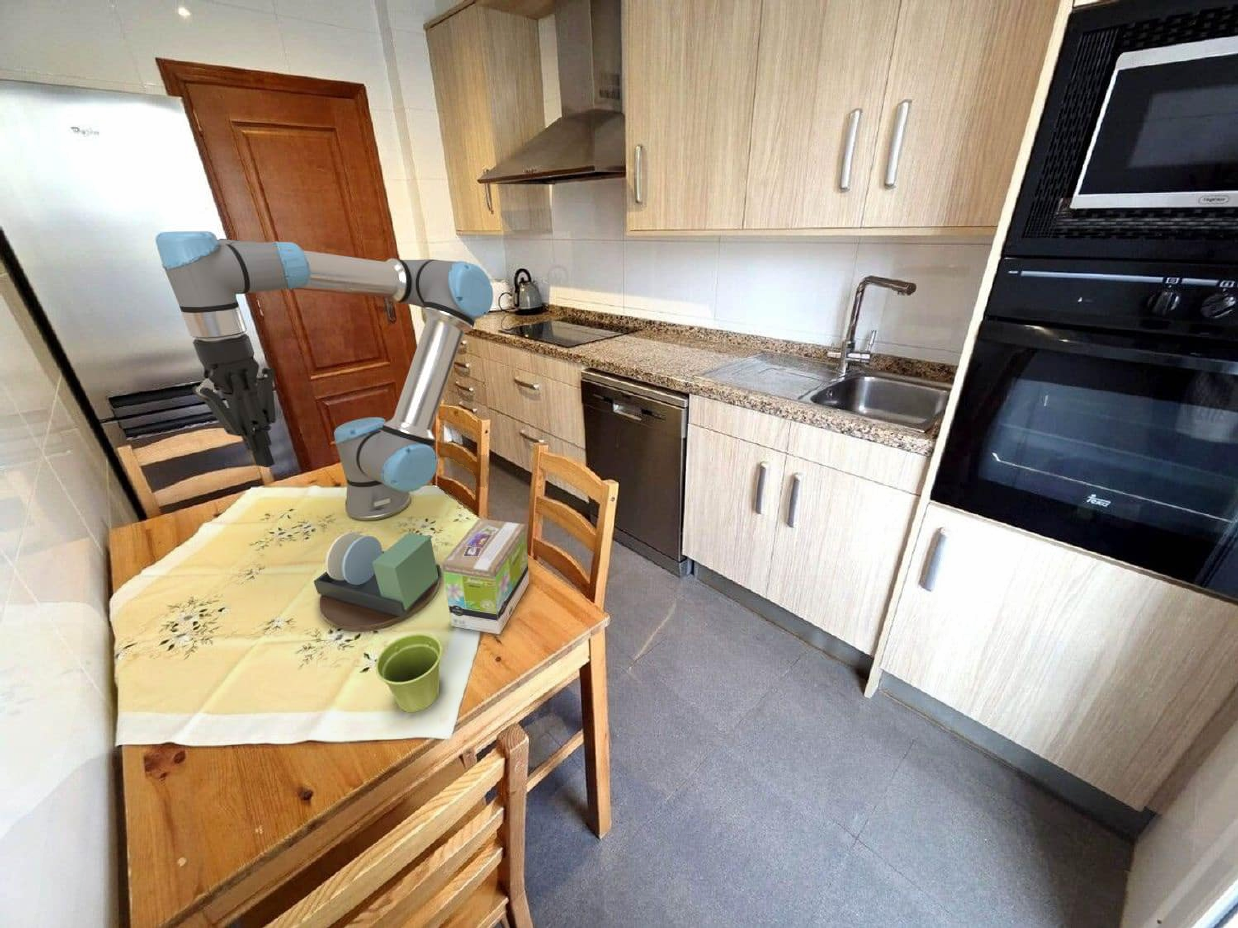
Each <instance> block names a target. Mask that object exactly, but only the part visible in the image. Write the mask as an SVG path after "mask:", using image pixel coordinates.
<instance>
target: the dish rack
mask: <svg viewBox="0 0 1238 928" xmlns="http://www.w3.org/2000/svg"><path fill="white" fill-rule="evenodd" d="M434 552H435V551H434V547H433V543H432V537H431V536H428V535H424V534H419V533H415V532H410V531H408V532H407V533H406V534H405V535H404V536H402V537H401V538H400V539H398V540H397V541H396V542H395V543H394V544H392V546H390V547H389V548H388V549H386V550H385V551H383V546H382V543H381V541H380V540H379V539H378V538H377V537H375V536H372V535H363V536H362V535H361V534H360V533H359V532H355V531H347V532H344V533H342V534H340V535H339V536H338V537H336V538H335V540H333V541H332V543H331V545H329V548H328V550H327V552H326V556H325V561H324V562H325V571H324V572H323V573H322V574H321V575H319V577H317V578H316V579H314V580H313V584H314V587H315V590H316V593H317V595H320V596H321V595H324V596H327V597H331V598H334V599H338V600H342V601H345V602H349V603H352V604H356V605H359V606H363V607H366V608H370V609H374V610H377V611H381V612H384V613H388V614H391V615H395V616H398V617H404V616H405V615H406V614H407V613H408V612H409V611H410V610H411V609H412V607H413V606H414V605H415V604H416V603H417V602H418V601H419V600H420V599H421V598H422V597H423V596H424V595H425V594H426V593H427V592H428V591H429V590H430V589H431V588H432V587H433V586H434V585H435V584H436V583H437V582H438V581H439V580H440V581H441V579H442V578H443V574H442V568H441V564H437V562H436V558H435V553H434Z"/></svg>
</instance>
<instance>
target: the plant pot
mask: <svg viewBox="0 0 1238 928" xmlns="http://www.w3.org/2000/svg"><path fill="white" fill-rule="evenodd" d="M442 656H443V646H442V643H441V642H440V640H439V639H438V638H437V637H436V636H434V635H432V634H429V633H411V634H407V635H404V636H401V637H399V638H396V639H395V640H393V641H392V642H390V643H389V644H388V645H386V647H384V648H383V649H382V650H381V652H380V653H379V655H378V657H377V659H376V661H375V666H374V668H375V673H376V675H377V677H378V679H379V680H380V681H382V682H383V683H385V684H386V685H387V687H388V688H389V690H390V692H391V693H392V695H393V698H395V701H396V703H397V705H398V706H399V708H400V709H401V710H402V711H403V712H407V713H415V712H417V711H423V710H426V709H427V708H429V707H430V706H431V705H433V704H434V703H435V701H436V700H437V698H438V696H439V693H440V676H439V675H440V674H439V672H440V671H439V669H440V667H439V665H440V663H441V659H442Z"/></svg>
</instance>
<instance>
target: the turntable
mask: <svg viewBox="0 0 1238 928" xmlns="http://www.w3.org/2000/svg"><path fill="white" fill-rule="evenodd" d="M440 584H441V579H440V580H439V581H438V582H437V583H436V584H435V585H434V586H433V587H432V588H431V589H430V590H429V591H428V592H427V593H426V594H425V595H424V596H423V597H422V598H421V599H420V600H419V601H418V602H417V603H416V604H415V605H414V606H413V607H412V609H411V610H410V611H409V612H408V613H407V614H406V615H405V616H404V617H398V616H395V615H391V614H388V613H384V612H381V611H377V610H374V609H370V608H366V607H363V606H359V605H356V604H352V603H349V602H345V601H342V600H338V599H334V598H331V597H327V596H324V595H320V598H319V602H318V603H319V610H320V613H321V616H322V618H323V619H324V620H325V621H326V622H327V623H328V624H329V625H330V626H331V627H333V628H336V629H338V630H342V631H346V632H370V631H376V630H380V629H384V628H389V627H390V626H393V625H396V624H399V623H402V622H404V621H405V620H407V619H409V618H411V617H412V616H414V615H416V614H418V613H419V612H420V611H421V610H422V609H424V608H425V607H426V606H427V605H428V604H429V603H431V601H432V600H433V599H434V597H435V595H436V594H437V592H438V590H439V588H440Z"/></svg>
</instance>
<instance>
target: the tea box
mask: <svg viewBox="0 0 1238 928" xmlns="http://www.w3.org/2000/svg"><path fill="white" fill-rule="evenodd" d="M441 567H442V575H443V580H444V586H445V587H444V588H445V594H446V599H447V604H448V611H449V618H450V623H451V627H455V628H460V629H467V630H471V631H478V632H483V633H489V634H493V635H494V634H495V635H501V633H502V631H503V629H504V628H505V626H506V625H507V623H508V621H509V619H510V617H511V616H512V614H513V612H514V610H515V608H516V606H517V605H518V603H519V602H520V600H521V598H522V596H523V594H524V593H525V591H526V589H527V587H528V586H529V584H530V571H529V557H528V542H527V529H526V524H525V523H517V522H510V521H503V520H494V519H489V518H488V519H487V518H480V517H479V518H478V519H477V521H476V522H475V523H474V524H473V525H472V527H471V528H470V529H469V530H468V531H467V533H466V534H465V535H464V536H463V537H462V538H461V540H460V541H459V542H458V543H457V545H456V546H455V547H454V548H453V549H452V551H451V552H450V553H449V554H448V555H447V556H446V558H445V559H443V561H442V563H441Z"/></svg>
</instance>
